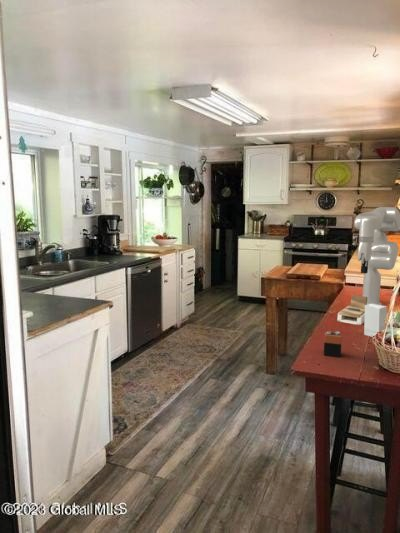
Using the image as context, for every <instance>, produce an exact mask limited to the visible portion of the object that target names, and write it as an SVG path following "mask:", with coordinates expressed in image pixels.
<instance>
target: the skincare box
mask: <svg viewBox="0 0 400 533" xmlns="http://www.w3.org/2000/svg"><path fill="white" fill-rule="evenodd" d="M387 308H388V307H387V306H386V305H383V304H382V305H377V304H368V305H365V322H364V323H363V324H364V329H363V330H364V331H363V335H364V336H368V337H370V338H374V337H373V336H375V335H376V334H377V332H380V331H382V330H384V328H385V321H384V319H386V320H387V314H388V313H387V310H388V309H387Z"/></svg>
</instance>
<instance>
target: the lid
mask: <svg viewBox="0 0 400 533" xmlns="http://www.w3.org/2000/svg"><path fill="white" fill-rule="evenodd" d="M350 297H351V298H350V305H347V306H348V307H347V306H346V307H347V308H346V307H345V308H343V309H344V310H343V309H341V310H340V311H341V312H340V311H339V312H340V315H344V316H350V317H356V318H360V316H362V315H363V314H364V313H365V305H367V297H365V296H363V295H356V294H351V295H350Z"/></svg>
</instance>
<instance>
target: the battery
mask: <svg viewBox="0 0 400 533" xmlns="http://www.w3.org/2000/svg"><path fill="white" fill-rule="evenodd" d="M342 339H343V333H341V332H340V331H334V332H331V331H330V330H327V331H325V333H324V338H323V340H324V342H323V343H324V344H323V355H324V356H328V357H335V358H340V357H341V356H342V342H343V341H342Z"/></svg>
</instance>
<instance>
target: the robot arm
mask: <svg viewBox="0 0 400 533" xmlns="http://www.w3.org/2000/svg"><path fill="white" fill-rule="evenodd" d="M353 226H354V228H355V229H356V230H359V231H358V232H359V233H358V234H359V235H358V243H359V246H358V250H357V251H358V253H357V261H360V265H361V266H360V273H361V274H363V284H362V296H365V297H367V305H368V304H377V305H382V306H383V302H380V299H381V298H380V297H381V284H382V283H381V282H382V280H381V279H382V276H381V273H380V272H379V270H385V271H387V270H389V271H391V270H393V269H394V268H395V266H396V262H397V259H398V258H397V257H398V255H399V244H398V243H397V242H395V241H391V240H390V241H389V240H388V239H389V237H388V236H387V235H386V233H385V232H398V231H400V210H399V209H398V208H397V207H396V206H395V207H394V206H379V207H376V208H375V209H374V210H372V211H367V212H362V213H359V214H358V215H356V216H355V218H354V220H353Z"/></svg>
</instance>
